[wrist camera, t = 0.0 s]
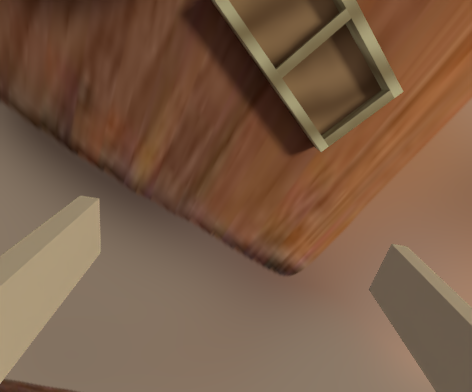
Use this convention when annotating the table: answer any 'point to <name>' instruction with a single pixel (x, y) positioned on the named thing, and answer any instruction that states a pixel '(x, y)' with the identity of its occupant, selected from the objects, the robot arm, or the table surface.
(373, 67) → the board
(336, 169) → the table surface
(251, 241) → the table surface
